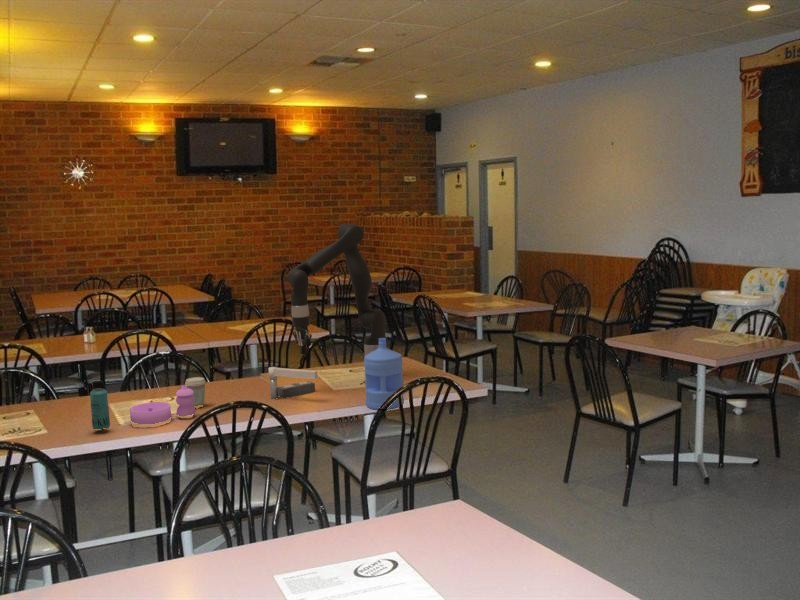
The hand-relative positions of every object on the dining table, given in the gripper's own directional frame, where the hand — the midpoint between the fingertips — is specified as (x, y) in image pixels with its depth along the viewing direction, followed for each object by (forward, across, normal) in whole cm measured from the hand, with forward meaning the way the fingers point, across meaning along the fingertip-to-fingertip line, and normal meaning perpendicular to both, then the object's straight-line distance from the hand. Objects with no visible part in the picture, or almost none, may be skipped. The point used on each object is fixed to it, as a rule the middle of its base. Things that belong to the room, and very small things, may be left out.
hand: (303, 353), depth 346 cm
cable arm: (+8, -7, +10) cm, 15 cm away
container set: (+16, +4, +63) cm, 66 cm away
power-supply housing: (+18, +3, +4) cm, 18 cm away
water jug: (+18, -41, -13) cm, 47 cm away
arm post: (+18, +2, +15) cm, 23 cm away
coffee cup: (+17, +14, +45) cm, 50 cm away
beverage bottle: (+15, +7, +87) cm, 89 cm away
